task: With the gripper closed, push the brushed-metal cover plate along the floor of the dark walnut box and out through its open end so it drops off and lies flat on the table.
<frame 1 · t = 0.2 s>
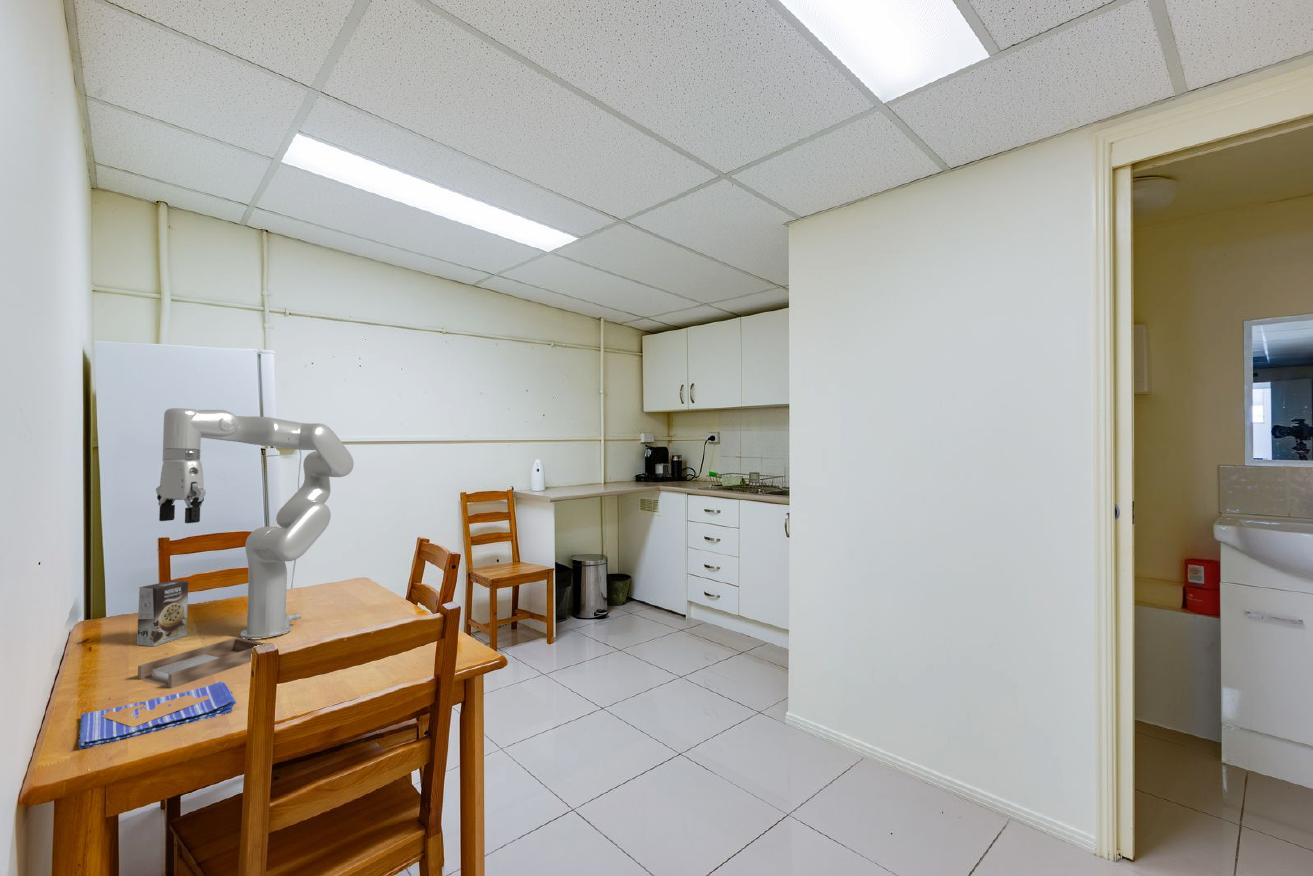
hand: (179, 521, 147), 36 cm above the table, tool pointing down, fingers open, 9 cm apart
cover plate: (188, 672, 137), point 1 cm above the table, touching walnut box
walnut box: (206, 669, 141), on the table
dish towel: (160, 718, 117), on the table
cookie box: (162, 641, 161), on the table
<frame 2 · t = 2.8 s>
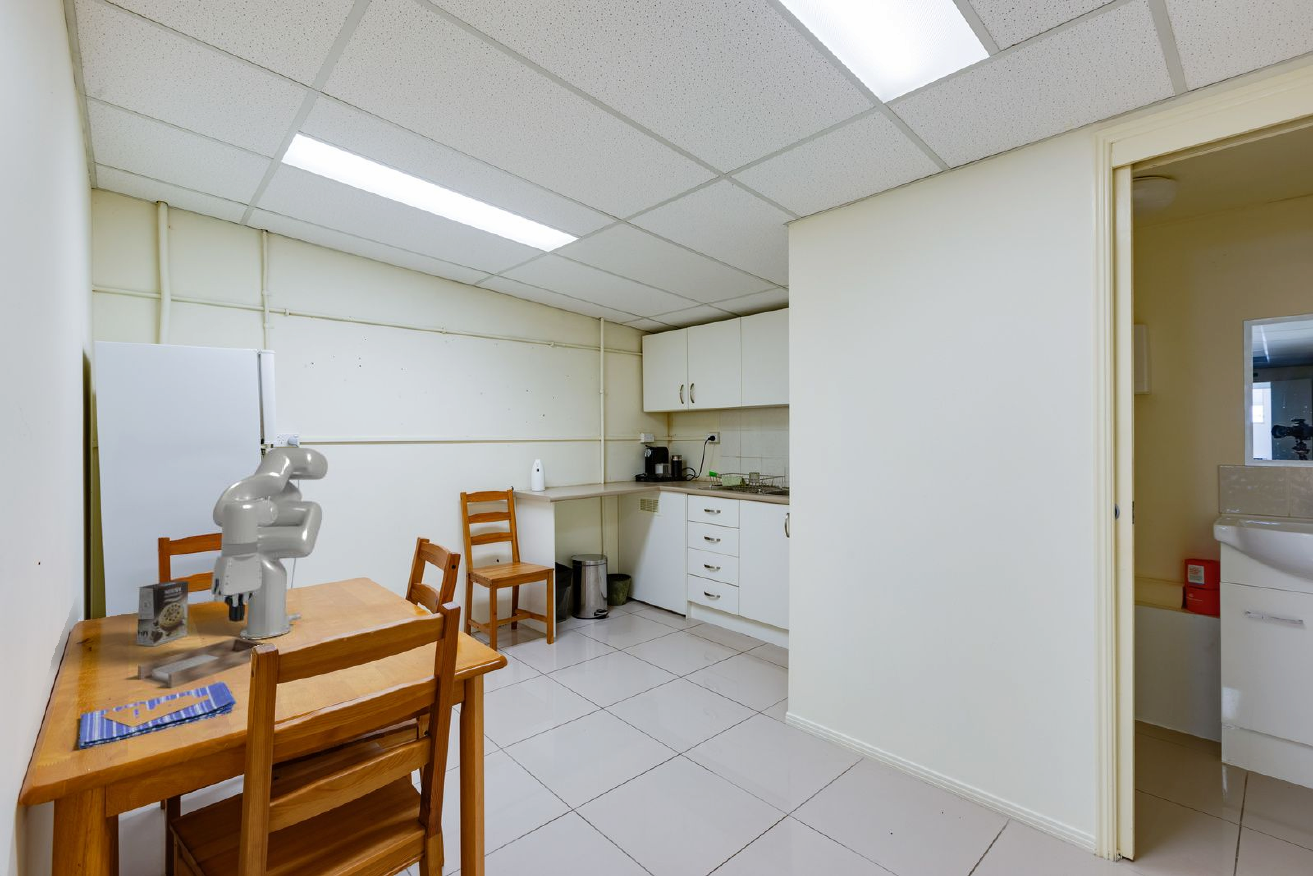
hand: (236, 620, 147), 11 cm above the table, tool pointing down, fingers closed
nothing on the table moved.
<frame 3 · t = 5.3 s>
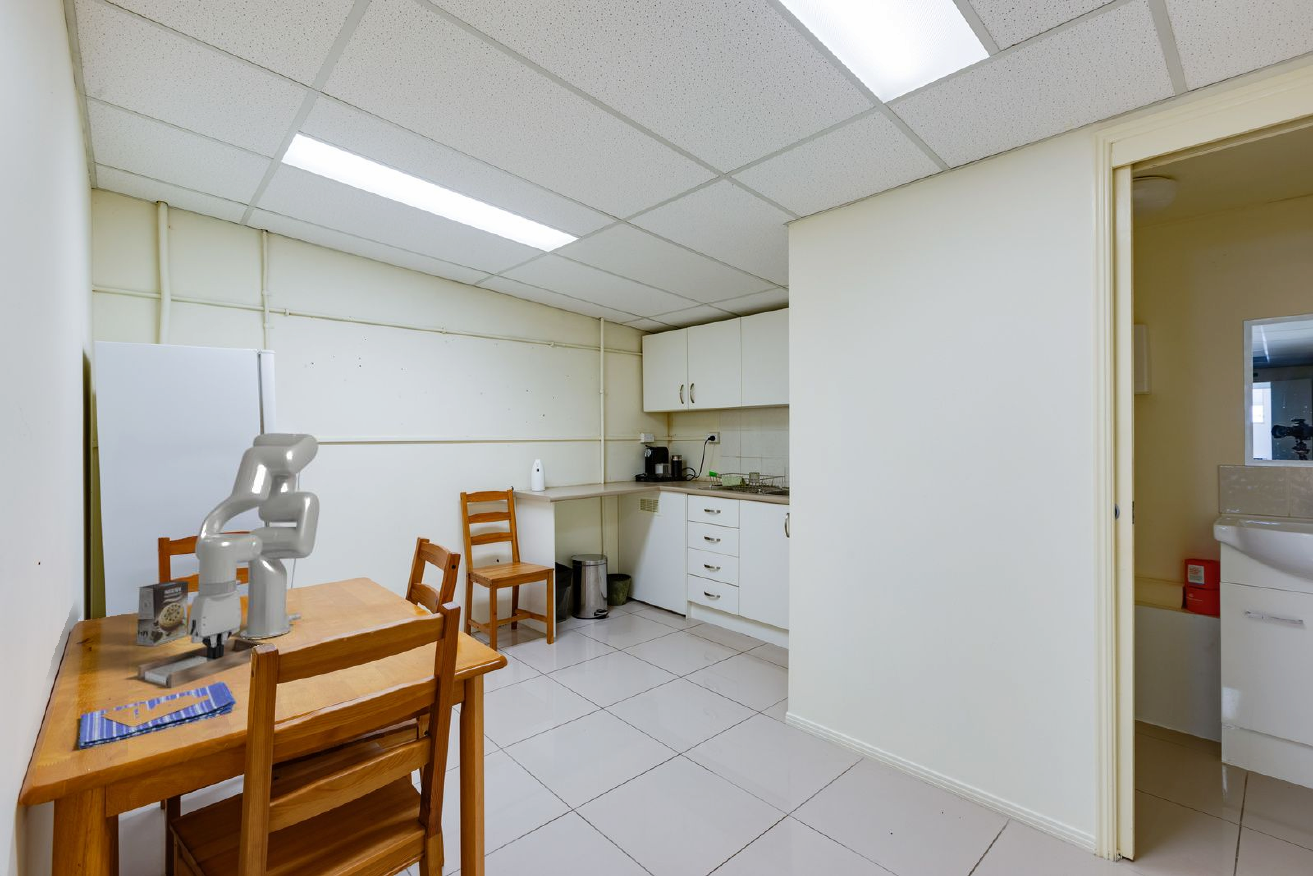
hand: (215, 660, 143), 2 cm above the table, tool pointing down, fingers closed
cover plate: (182, 674, 136), point 1 cm above the table, touching gripper, walnut box
everything else where it was.
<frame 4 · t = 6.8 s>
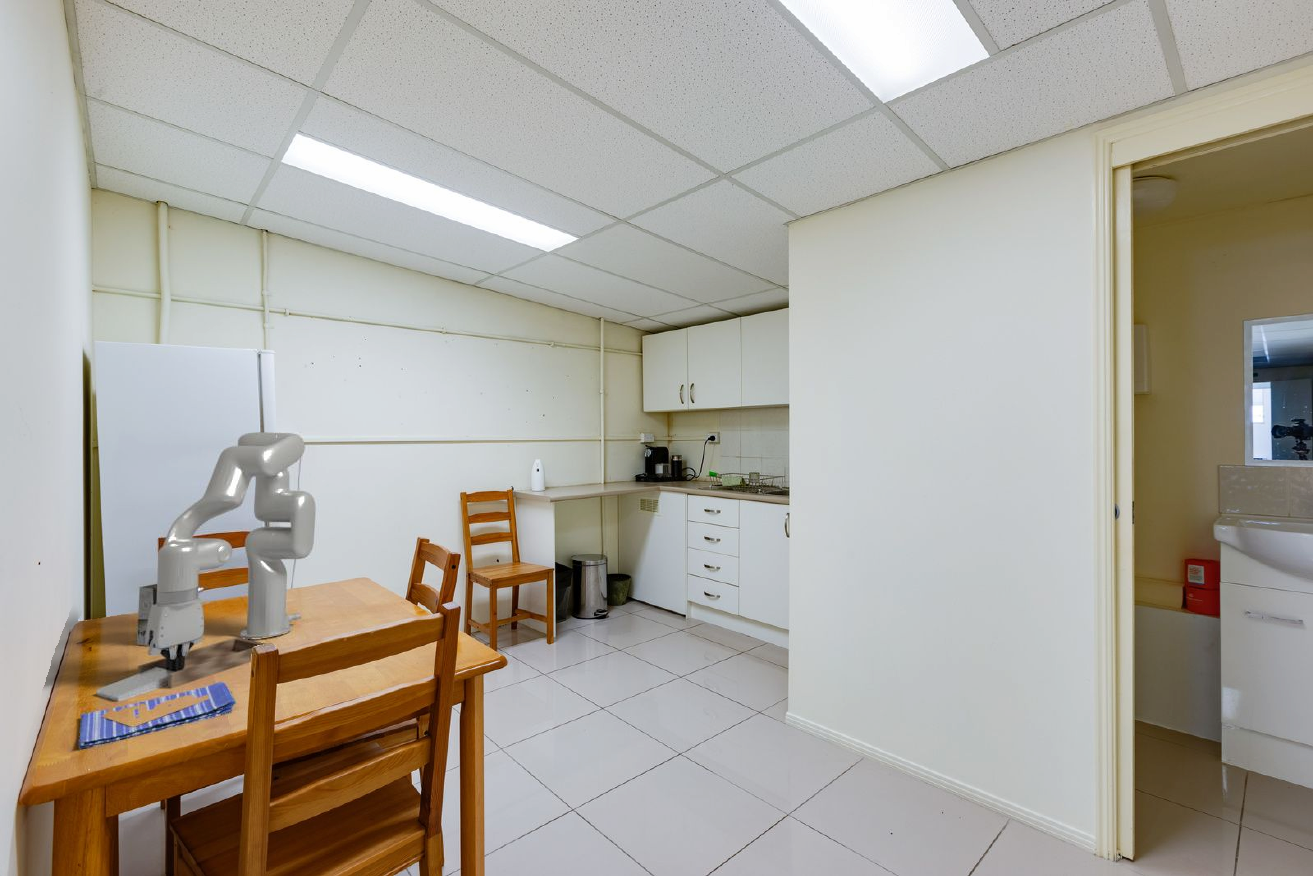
hand: (175, 673, 135), 2 cm above the table, tool pointing down, fingers closed
cover plate: (138, 689, 128), point 1 cm above the table, tilted 6°, touching gripper
everything else where it was.
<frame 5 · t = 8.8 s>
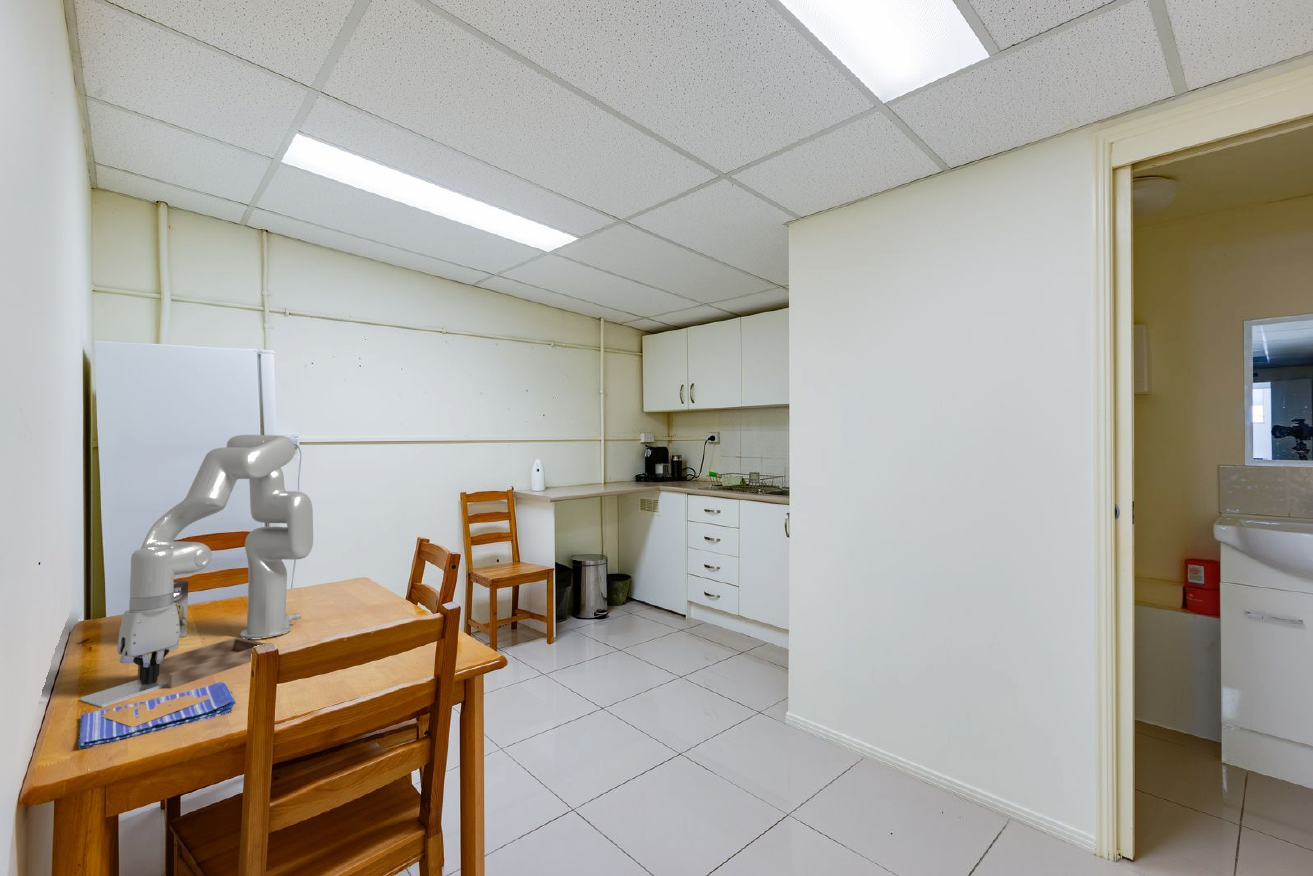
hand: (149, 682, 130), 2 cm above the table, tool pointing down, fingers closed
cover plate: (123, 699, 125), on the table
everything else where it was.
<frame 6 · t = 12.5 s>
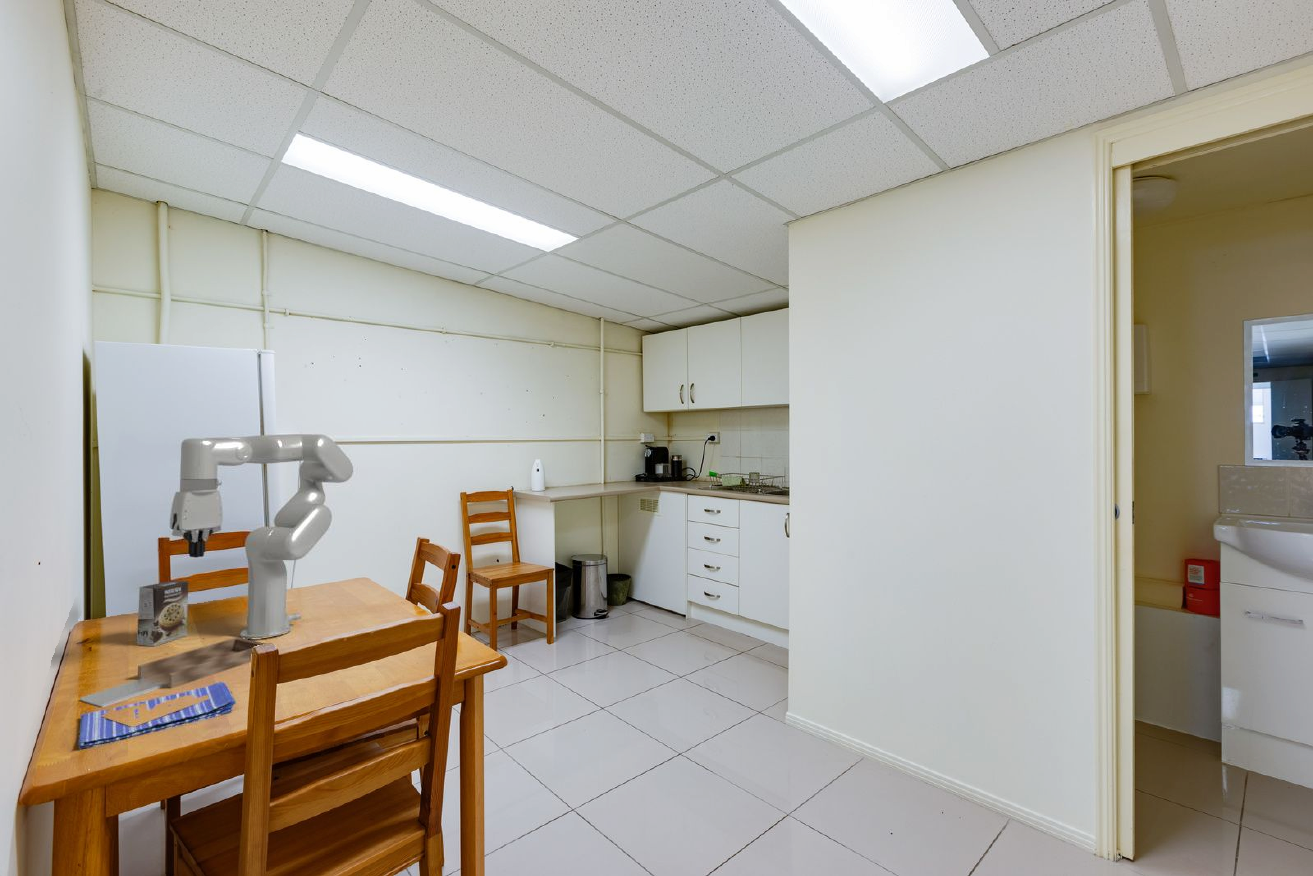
hand: (196, 556, 147), 27 cm above the table, tool pointing down, fingers closed
nothing on the table moved.
at the end: cover plate inside the target area (3.7 cm from its centre), on the table; cover plate tilted 0°; cover plate touching table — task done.
